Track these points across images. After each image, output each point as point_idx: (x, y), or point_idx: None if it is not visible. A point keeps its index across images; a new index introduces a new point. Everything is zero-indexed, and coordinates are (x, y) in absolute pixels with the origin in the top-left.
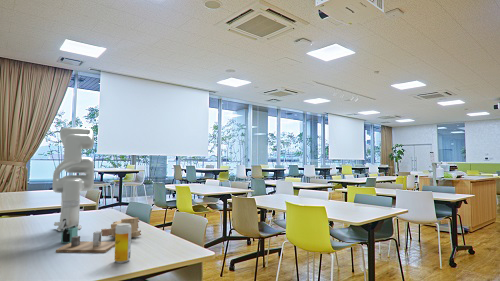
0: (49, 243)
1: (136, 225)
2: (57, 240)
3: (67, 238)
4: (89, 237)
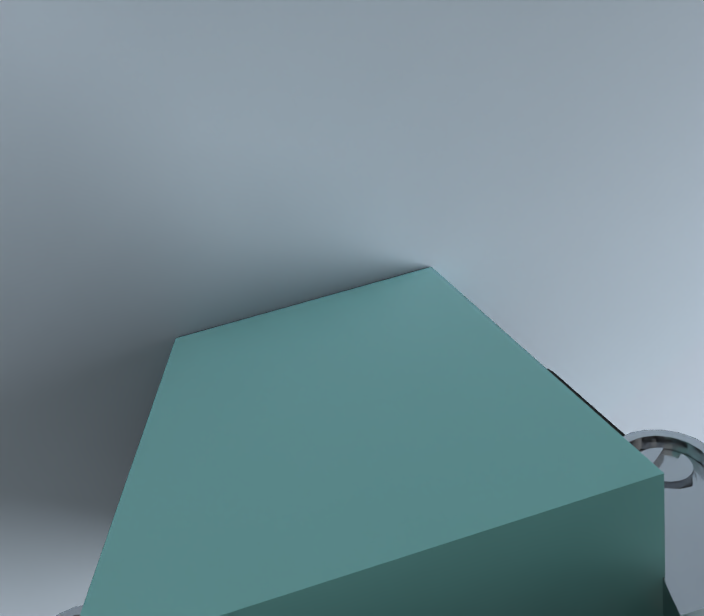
0: (4, 64)
1: None
2: (357, 20)
3: None
4: None
